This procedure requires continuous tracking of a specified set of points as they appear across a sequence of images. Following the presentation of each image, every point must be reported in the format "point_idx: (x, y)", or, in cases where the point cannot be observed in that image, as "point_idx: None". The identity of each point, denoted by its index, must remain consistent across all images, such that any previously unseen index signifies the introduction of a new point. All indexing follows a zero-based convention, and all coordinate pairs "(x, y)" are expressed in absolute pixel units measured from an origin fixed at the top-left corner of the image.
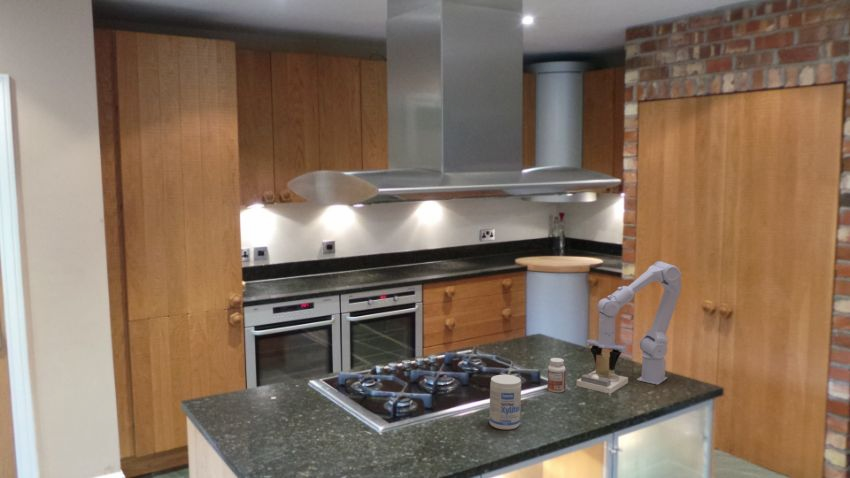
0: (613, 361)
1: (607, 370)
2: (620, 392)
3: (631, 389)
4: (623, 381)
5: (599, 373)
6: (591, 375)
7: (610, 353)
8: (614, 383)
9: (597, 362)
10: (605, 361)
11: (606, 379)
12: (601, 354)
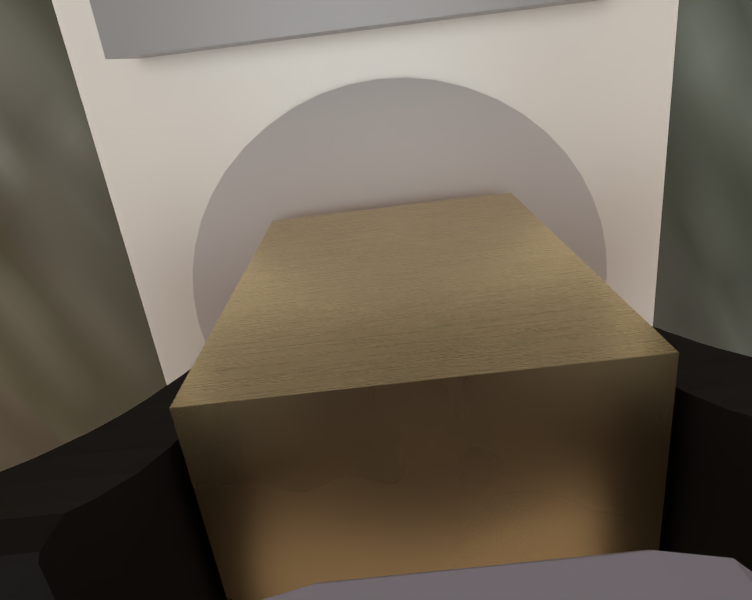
0: (122, 415)
1: (281, 249)
2: (31, 90)
3: (38, 296)
4: (167, 362)
5: (439, 203)
6: (569, 170)
7: (15, 520)
8: (150, 167)
9: (541, 264)
10: (317, 317)
11: (174, 21)
12: (552, 500)
